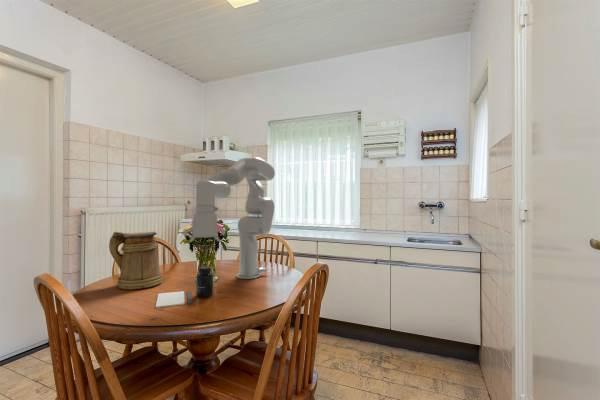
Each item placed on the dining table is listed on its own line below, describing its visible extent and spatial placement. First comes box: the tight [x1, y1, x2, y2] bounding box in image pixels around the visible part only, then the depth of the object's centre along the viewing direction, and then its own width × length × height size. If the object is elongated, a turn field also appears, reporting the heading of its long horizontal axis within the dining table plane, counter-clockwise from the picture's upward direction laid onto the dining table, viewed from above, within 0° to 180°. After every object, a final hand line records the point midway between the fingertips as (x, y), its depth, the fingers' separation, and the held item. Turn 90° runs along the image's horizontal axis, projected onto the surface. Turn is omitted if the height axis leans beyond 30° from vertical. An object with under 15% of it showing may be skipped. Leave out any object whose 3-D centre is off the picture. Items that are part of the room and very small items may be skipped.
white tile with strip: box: [155, 290, 193, 309], centre depth 119 cm, size 13×16×1 cm
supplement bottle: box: [195, 265, 214, 299], centre depth 124 cm, size 7×7×12 cm
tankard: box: [108, 231, 164, 290], centre depth 139 cm, size 18×24×25 cm
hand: (204, 251), depth 123 cm, fingers open, 9 cm apart
